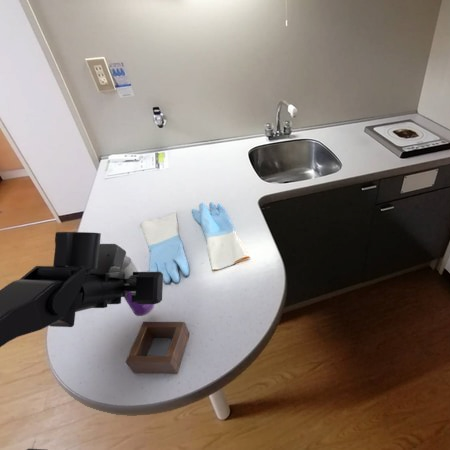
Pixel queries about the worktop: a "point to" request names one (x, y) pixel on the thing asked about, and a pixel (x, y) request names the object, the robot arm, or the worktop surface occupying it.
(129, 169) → the worktop surface
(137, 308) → the container
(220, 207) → the rubber gloves
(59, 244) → the robot arm
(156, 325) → the frame
